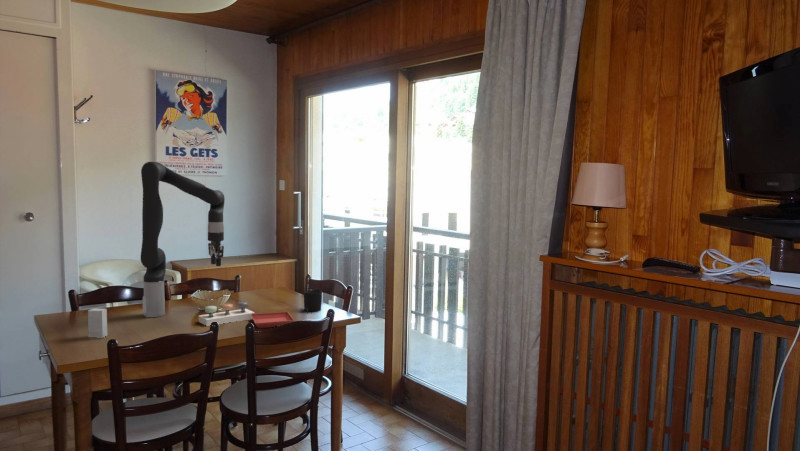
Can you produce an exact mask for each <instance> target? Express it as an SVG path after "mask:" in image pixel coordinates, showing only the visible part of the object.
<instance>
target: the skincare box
mask: <svg viewBox="0 0 800 451" xmlns="http://www.w3.org/2000/svg"><path fill="white" fill-rule="evenodd" d="M87 320H88V322H87V323H88V338H89V337H97V338H96V339H104V338H105V336H106V337H107V336H108V313H107V308H91V309H89V310H87ZM103 337H104V338H103Z"/></svg>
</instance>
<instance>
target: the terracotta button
mask: <svg viewBox="0 0 800 451" xmlns="http://www.w3.org/2000/svg"><path fill="white" fill-rule="evenodd" d="M233 309H234V304H233V303H223V304H221V310H222V311H224V312H225V315H229V311H233Z"/></svg>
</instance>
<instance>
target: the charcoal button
mask: <svg viewBox="0 0 800 451" xmlns="http://www.w3.org/2000/svg"><path fill="white" fill-rule="evenodd" d="M248 307H249V301H238V302H237V309H241V313H243V312H245V309H248Z"/></svg>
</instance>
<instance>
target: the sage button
mask: <svg viewBox="0 0 800 451" xmlns="http://www.w3.org/2000/svg"><path fill="white" fill-rule="evenodd" d="M217 311H218V308H217V306H216V305H209V306H208V305H207V306H205V307H204V312H205V313H207V314H209V317H213V313H217Z"/></svg>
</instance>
